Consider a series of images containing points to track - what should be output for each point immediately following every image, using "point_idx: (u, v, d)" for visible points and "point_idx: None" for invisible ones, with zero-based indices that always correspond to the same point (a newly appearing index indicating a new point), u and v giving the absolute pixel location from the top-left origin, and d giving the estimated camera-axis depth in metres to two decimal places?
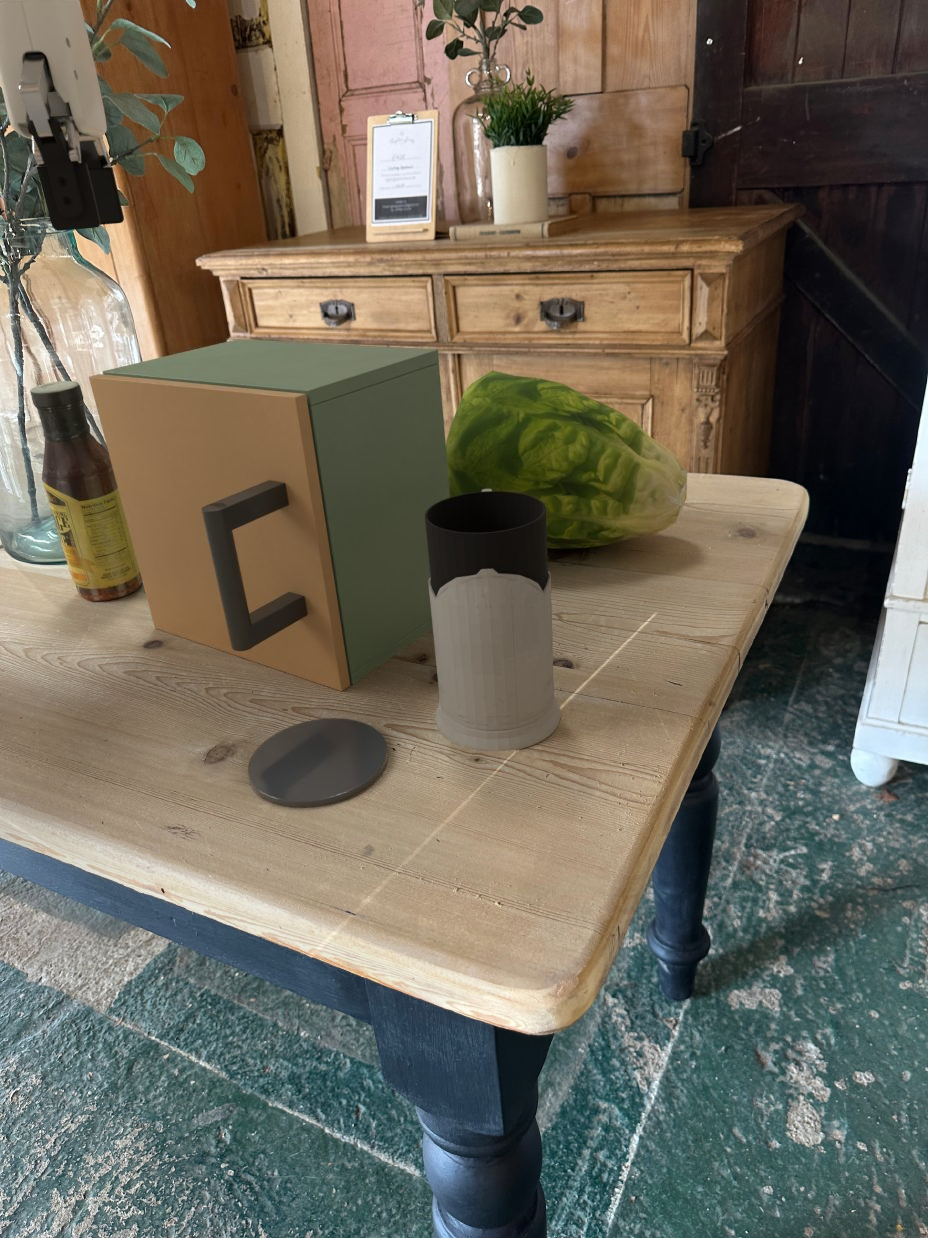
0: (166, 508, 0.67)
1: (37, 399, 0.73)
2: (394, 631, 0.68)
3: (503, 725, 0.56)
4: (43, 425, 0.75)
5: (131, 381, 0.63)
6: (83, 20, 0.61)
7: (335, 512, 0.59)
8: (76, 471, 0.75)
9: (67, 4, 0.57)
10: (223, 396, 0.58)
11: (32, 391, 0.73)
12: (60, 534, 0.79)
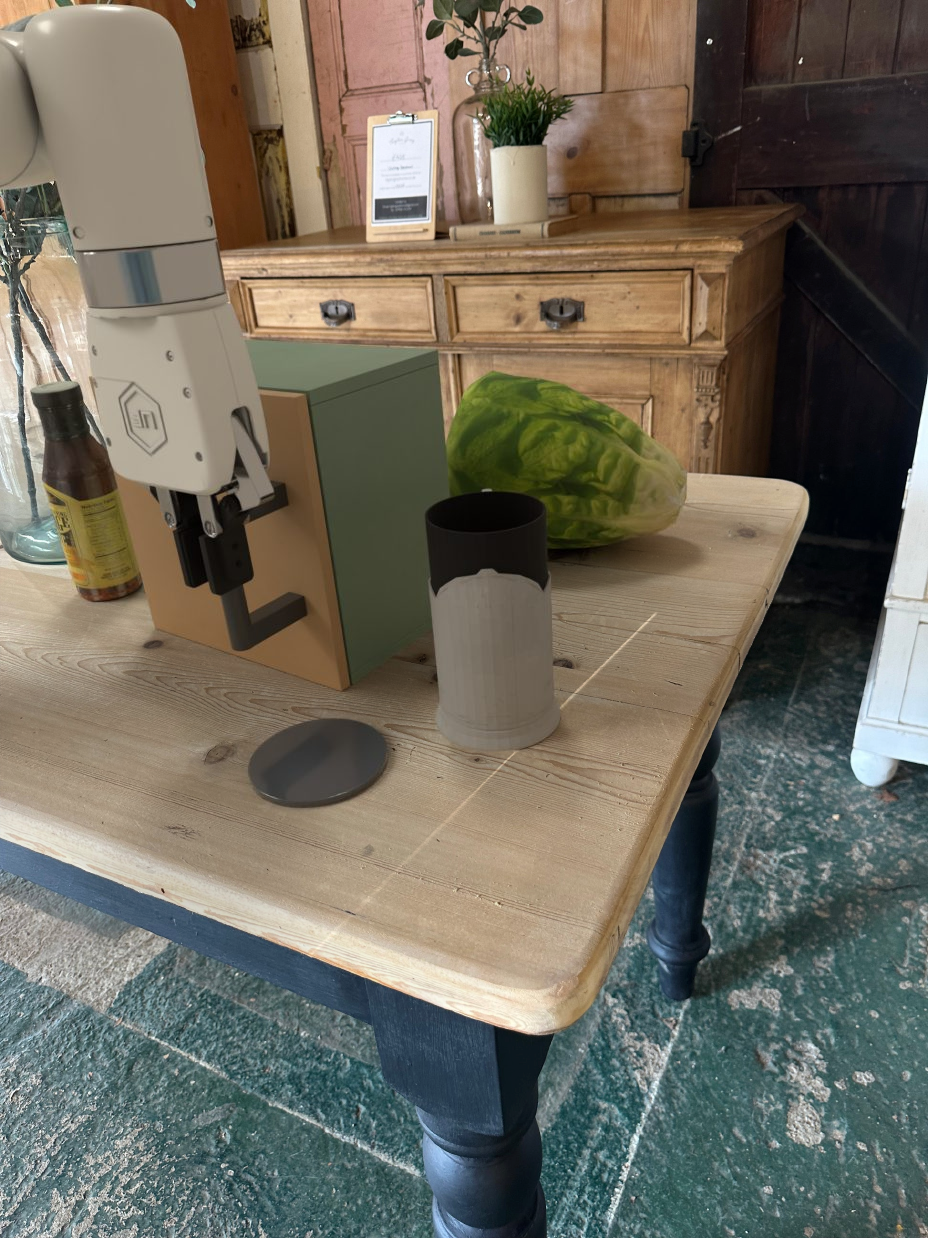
0: None
1: (37, 399, 0.73)
2: (394, 631, 0.68)
3: (503, 725, 0.56)
4: (43, 425, 0.75)
5: None
6: None
7: (335, 512, 0.59)
8: (76, 471, 0.75)
9: None
10: None
11: (32, 391, 0.73)
12: (60, 534, 0.79)
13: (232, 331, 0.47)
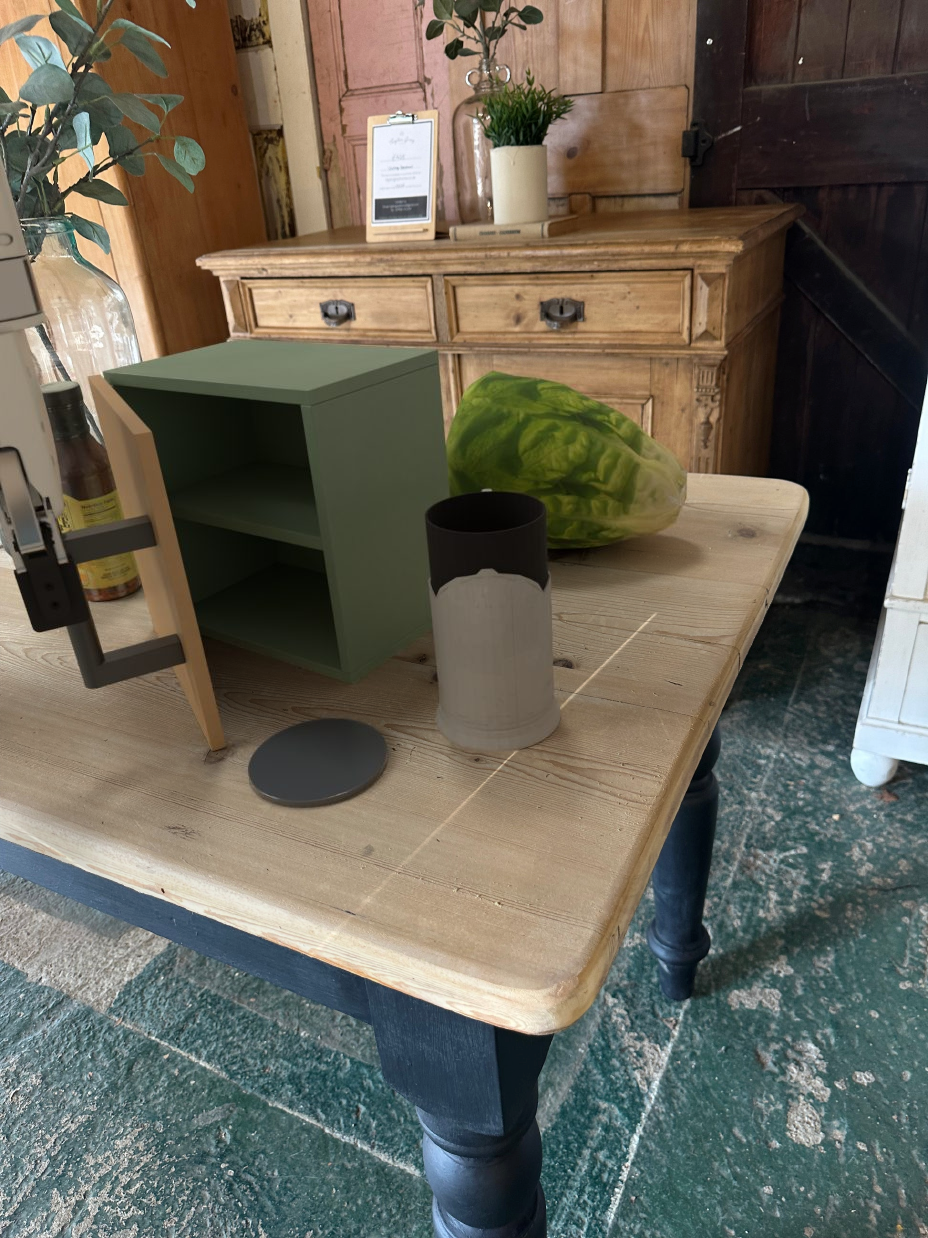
0: (130, 517, 0.65)
1: None
2: (394, 631, 0.68)
3: (503, 725, 0.56)
4: None
5: (96, 387, 0.62)
6: None
7: (335, 512, 0.59)
8: (76, 471, 0.75)
9: (33, 377, 0.45)
10: (117, 419, 0.54)
11: None
12: None
13: None
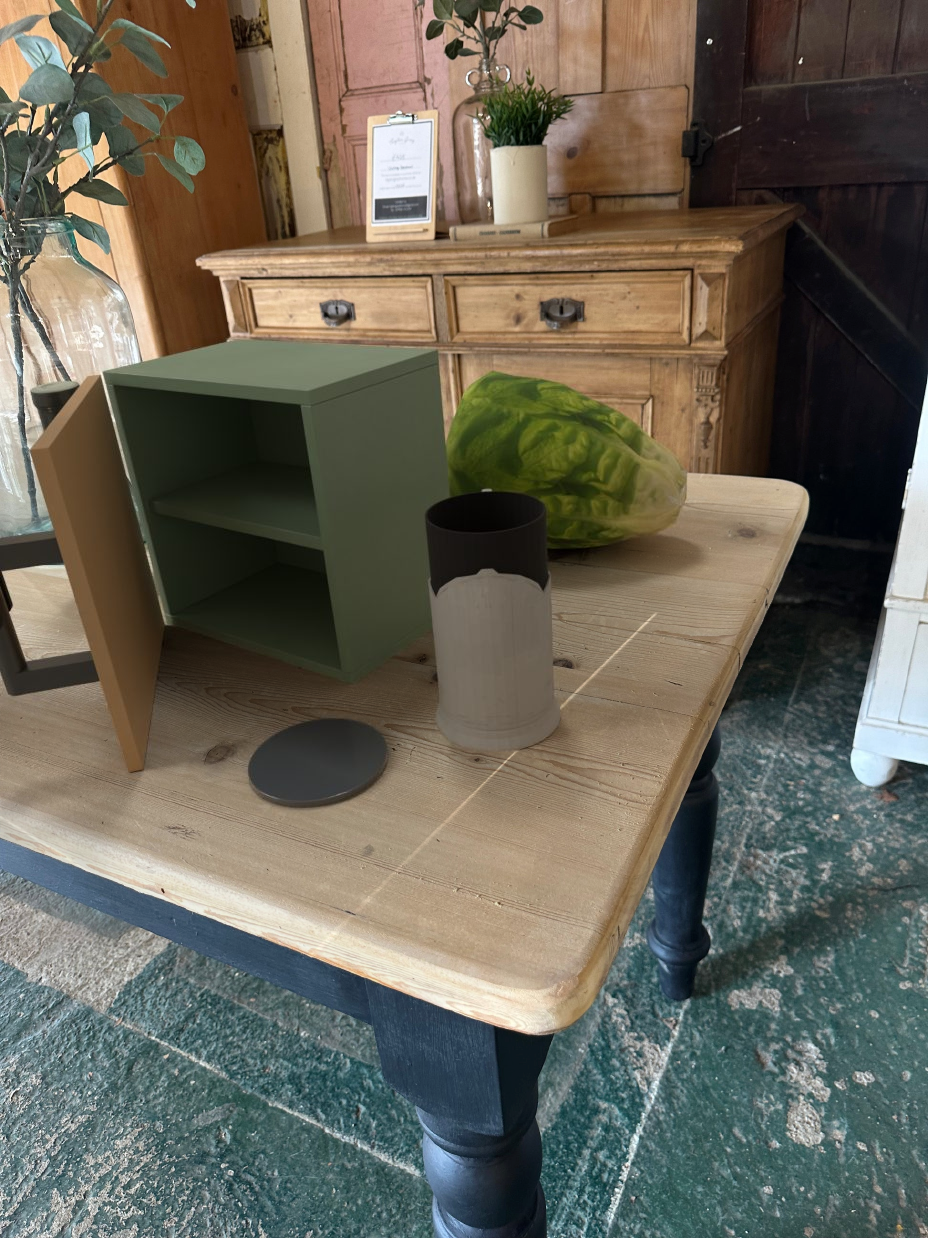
0: None
1: (37, 399, 0.73)
2: (394, 631, 0.68)
3: (503, 725, 0.56)
4: (43, 425, 0.75)
5: (77, 390, 0.61)
6: None
7: (335, 512, 0.59)
8: None
9: None
10: None
11: (32, 391, 0.73)
12: None
13: None
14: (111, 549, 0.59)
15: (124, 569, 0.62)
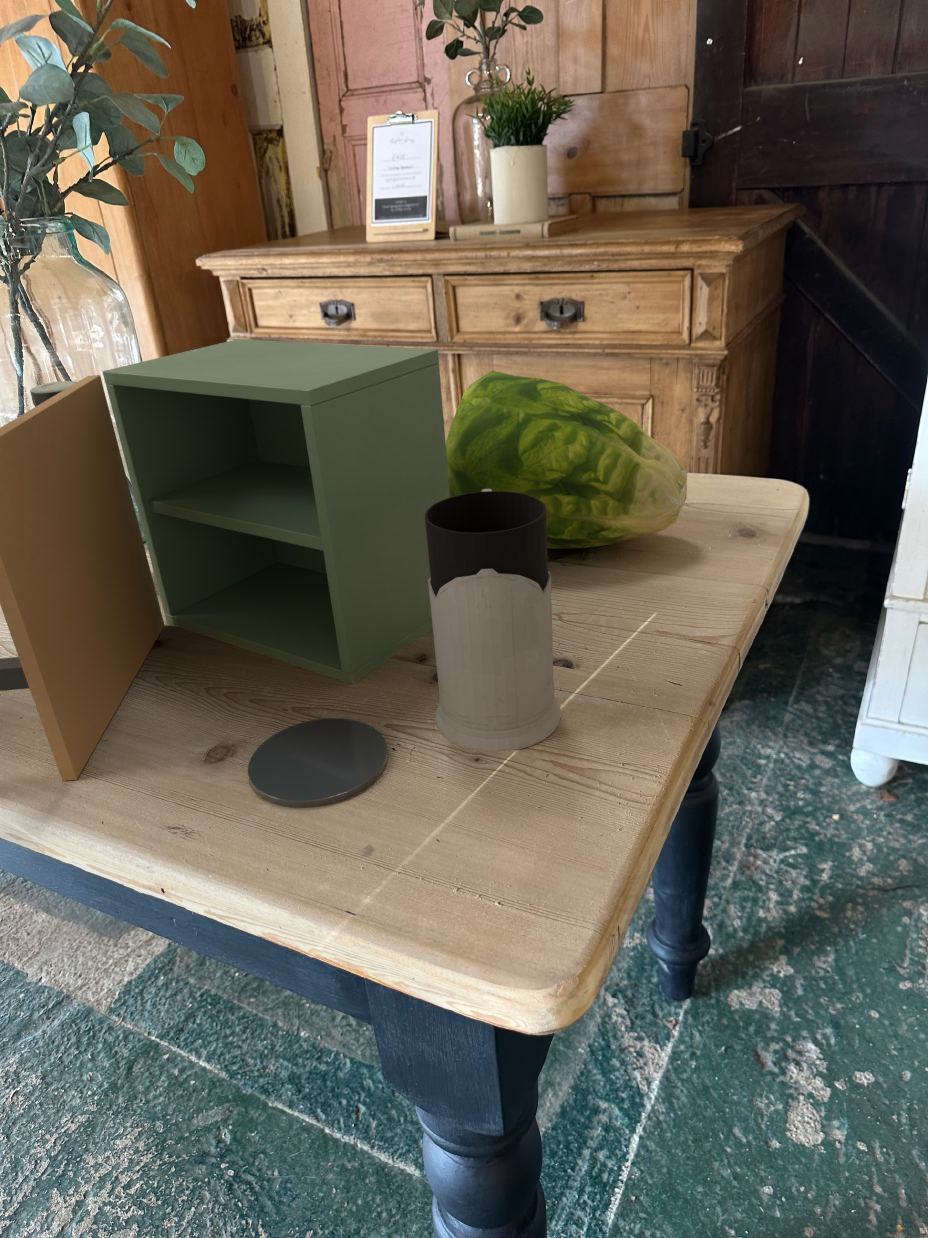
0: None
1: (37, 399, 0.73)
2: (394, 631, 0.68)
3: (503, 725, 0.56)
4: None
5: (62, 391, 0.61)
6: None
7: (335, 512, 0.59)
8: None
9: None
10: None
11: (32, 391, 0.73)
12: None
13: None
14: (72, 554, 0.58)
15: (94, 573, 0.62)
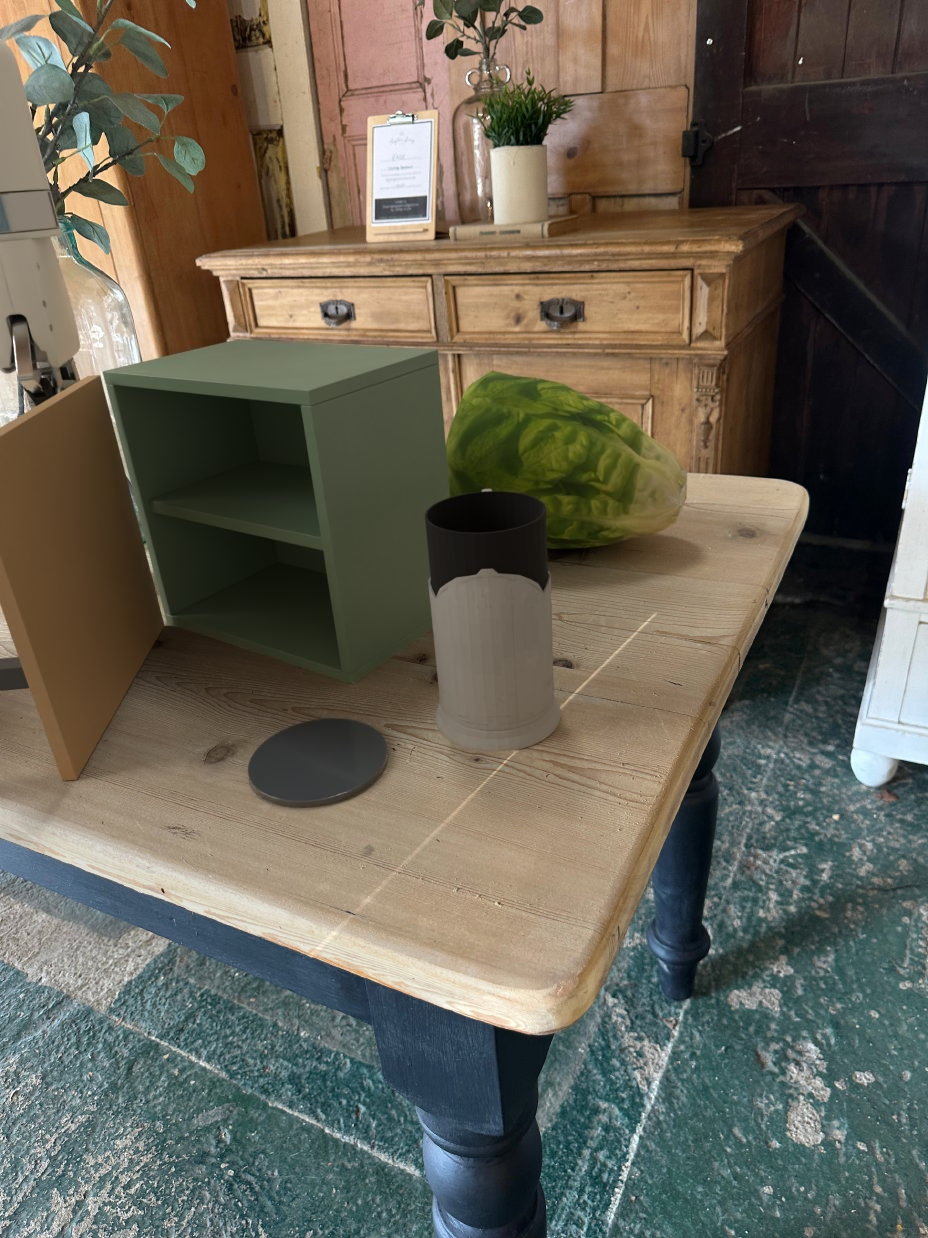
0: None
1: None
2: (394, 631, 0.68)
3: (503, 725, 0.56)
4: None
5: (62, 391, 0.61)
6: (58, 270, 0.72)
7: (335, 512, 0.59)
8: None
9: (43, 271, 0.69)
10: None
11: None
12: None
13: (13, 259, 0.66)
14: (72, 554, 0.58)
15: (94, 573, 0.62)
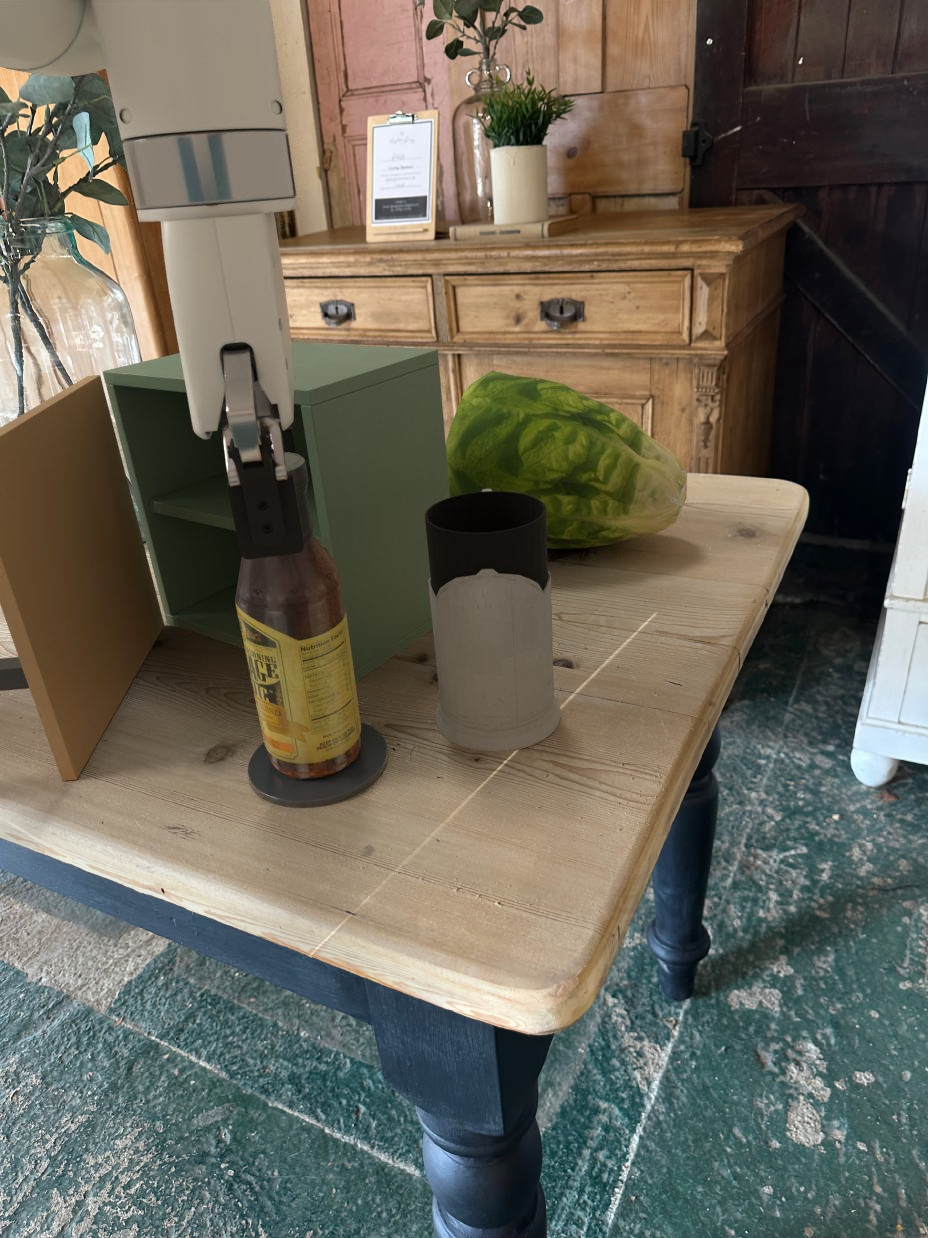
0: None
1: None
2: (394, 631, 0.68)
3: (503, 725, 0.56)
4: None
5: (62, 391, 0.61)
6: None
7: (335, 512, 0.59)
8: (298, 596, 0.47)
9: (277, 269, 0.41)
10: None
11: None
12: (258, 685, 0.51)
13: (239, 247, 0.38)
14: (72, 554, 0.58)
15: (94, 573, 0.62)
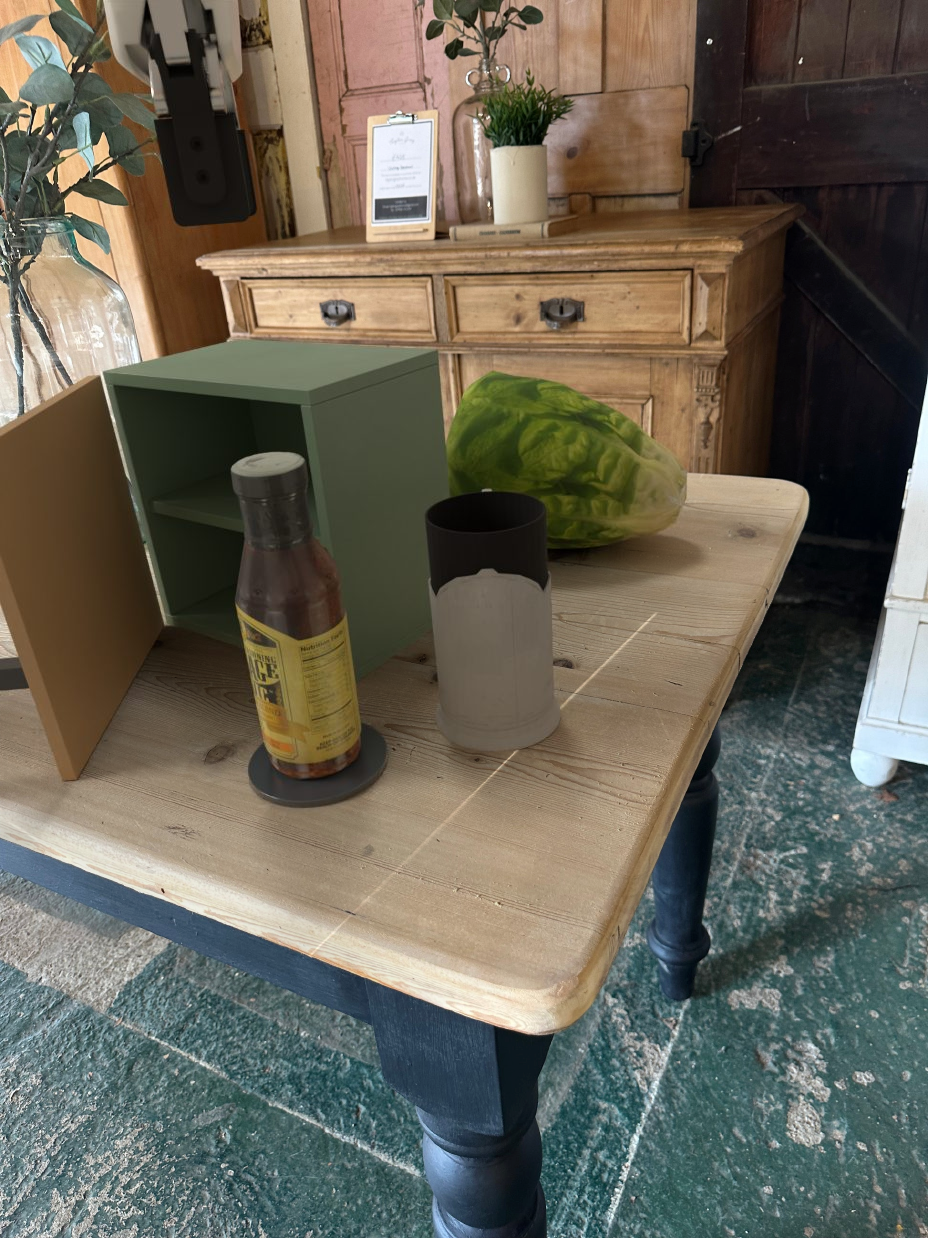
0: None
1: (245, 486, 0.45)
2: (394, 631, 0.68)
3: (503, 725, 0.56)
4: (248, 524, 0.47)
5: (62, 391, 0.61)
6: None
7: (335, 512, 0.59)
8: (298, 596, 0.47)
9: None
10: None
11: (237, 473, 0.45)
12: (258, 685, 0.51)
13: None
14: (72, 554, 0.58)
15: (94, 573, 0.62)
